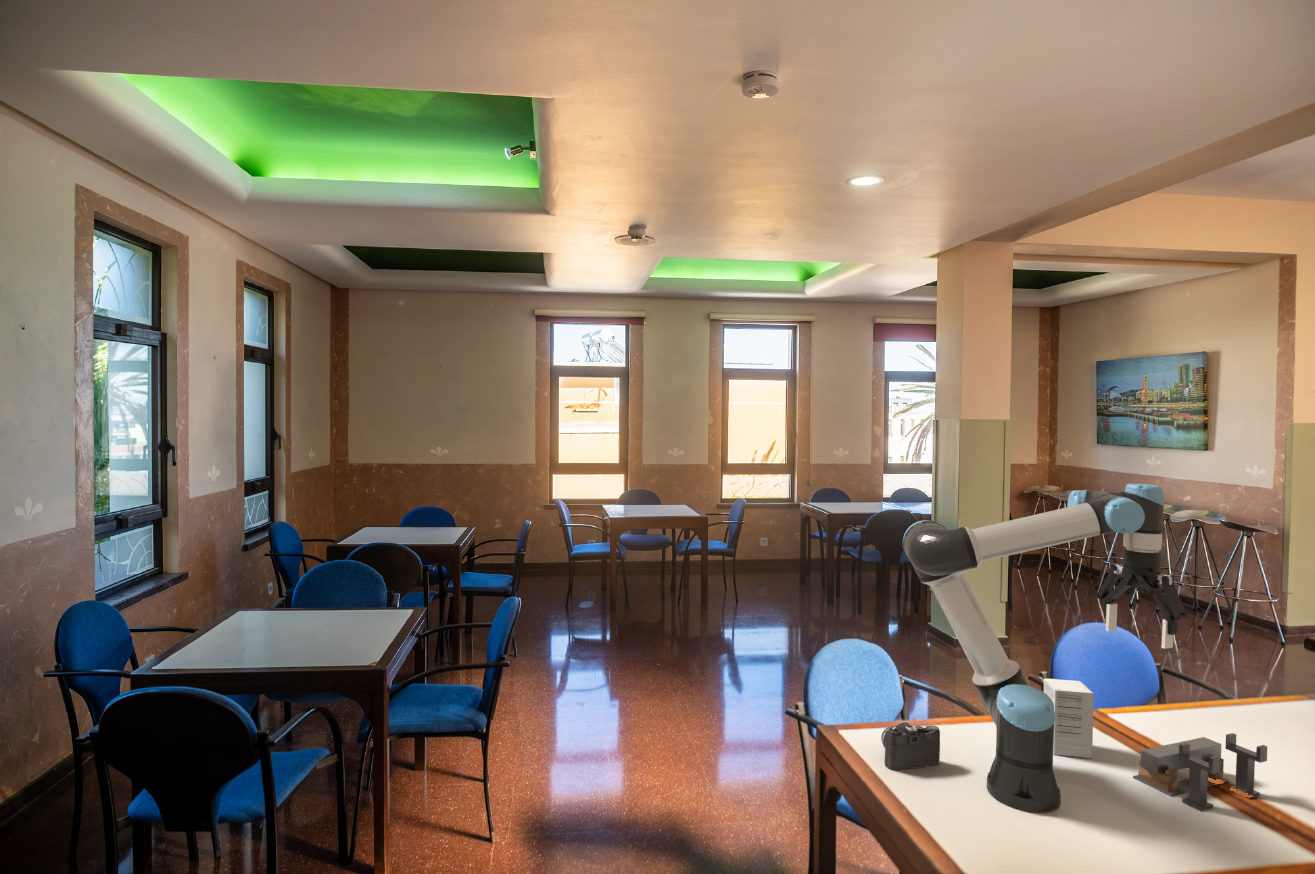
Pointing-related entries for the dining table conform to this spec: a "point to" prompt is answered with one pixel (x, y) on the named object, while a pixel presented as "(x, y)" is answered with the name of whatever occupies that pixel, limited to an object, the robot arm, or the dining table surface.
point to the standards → (1201, 769)
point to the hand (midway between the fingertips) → (1138, 638)
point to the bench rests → (1173, 779)
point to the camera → (911, 746)
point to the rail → (1177, 755)
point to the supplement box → (1071, 717)
